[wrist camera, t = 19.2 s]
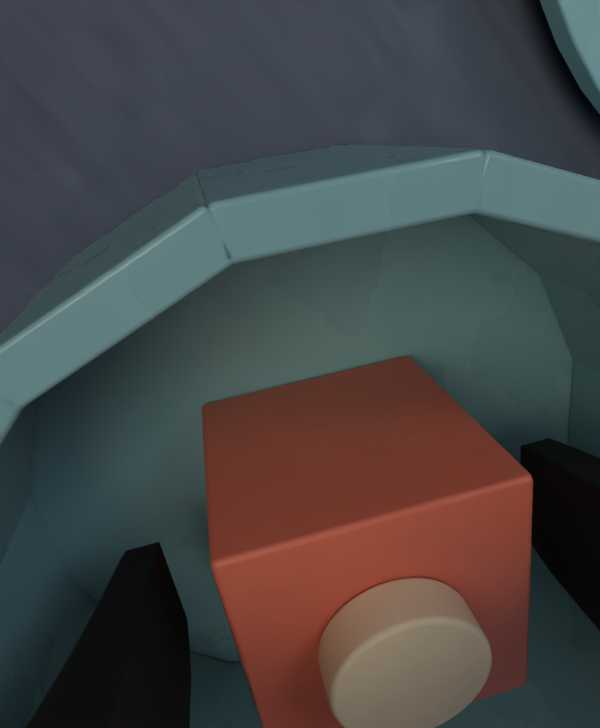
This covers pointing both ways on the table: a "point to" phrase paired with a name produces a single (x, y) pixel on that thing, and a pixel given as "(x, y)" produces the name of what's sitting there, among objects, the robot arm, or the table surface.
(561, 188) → the pot
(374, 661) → the toy block
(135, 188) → the table surface
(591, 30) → the lid
